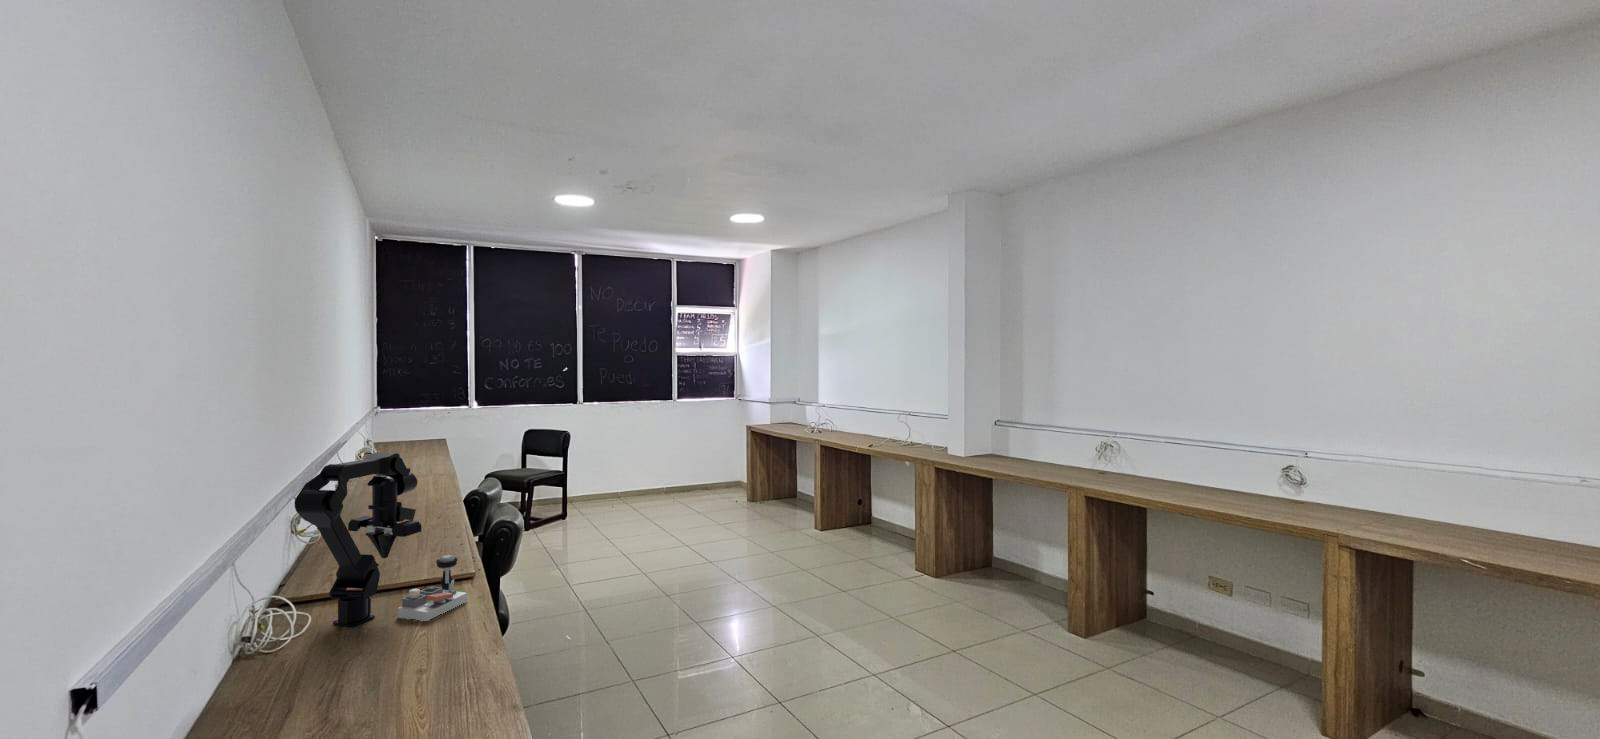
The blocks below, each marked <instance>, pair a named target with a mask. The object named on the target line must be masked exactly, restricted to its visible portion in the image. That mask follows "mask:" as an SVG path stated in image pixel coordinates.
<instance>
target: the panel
mask: <svg viewBox="0 0 1600 739" xmlns="http://www.w3.org/2000/svg"><path fill="white" fill-rule="evenodd" d="M454 583H455V579H453V580H452V581H451V584H450V588H449V590H443V589H442V588H441V587H439V586H438V587H437V586H435V587H436V591H433V592H426V588H424V589H422V590H420V598H418V599H415V600H412V599H409V595H408V596H405V597H403V598H402V599H401V600H402V601H401V604H402V605H401V606H399V607H397V618H399V619H404V618H405V619H406V620H410V619H416V620H415V621H417V620H424V621H427V620H430V619H432V618H434V617H436V616H438V615H440V614H442V615H443V613H444V614H446V613H447V611H448V612H449V610H450V611H452V610H453V608H454V609H456V608H458V607H460V606H462V605H464V604H467V603H468V592H464V591H457V589H453V590H452V587H453V588H454ZM431 586H432V585H431ZM431 586H429V587H431ZM443 592H446V593H453V598H448V599H443V600H438V601H432V600H427V596H428V595H433V594H439V593H443ZM463 603H464V604H463ZM461 604H462V605H461ZM459 605H460V606H459ZM457 606H458V607H457ZM455 607H456V608H455ZM451 609H452V610H451ZM445 612H446V613H445ZM440 616H441V615H440ZM438 617H439V616H438ZM436 618H437V617H436ZM405 619H404V620H405ZM434 619H435V618H434ZM432 620H433V619H432ZM430 621H431V620H430Z"/></svg>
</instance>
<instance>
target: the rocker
mask: <svg viewBox="0 0 1600 739" xmlns="http://www.w3.org/2000/svg"><path fill="white" fill-rule="evenodd" d="M448 598H453V593H446V592H443V593H439V594H433V595H428V596H427V600H432V601H438V600H443V599H448Z"/></svg>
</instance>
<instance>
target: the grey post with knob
mask: <svg viewBox="0 0 1600 739" xmlns="http://www.w3.org/2000/svg"><path fill="white" fill-rule="evenodd" d="M458 559H459V558H457V557H455V555H454V554H444V555H441V556H439V558H438V559H436V560H435V563H436V567H437V568H439V569H441V570H442V578H440V584H441V586H440V588H442V589H443V590H449V588H450V584H451V581H452V580H454V578H453V576H452V574H451V573H452V571H451V569H452V568H454V567H455V566H456V565H457V564H458ZM452 590H454V586H453V587H452Z"/></svg>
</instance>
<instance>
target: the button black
mask: <svg viewBox="0 0 1600 739" xmlns="http://www.w3.org/2000/svg"><path fill="white" fill-rule="evenodd" d="M436 587H437V586H434V585H433V586H432V585H431V587H430V586H427V587H425V589H426V592H433V591H436Z"/></svg>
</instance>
